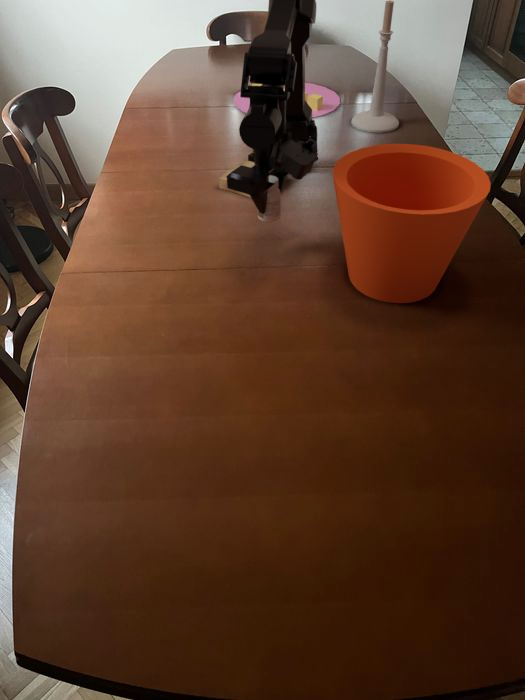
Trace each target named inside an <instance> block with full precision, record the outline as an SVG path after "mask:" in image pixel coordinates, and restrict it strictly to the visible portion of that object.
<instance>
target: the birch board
mask: <svg viewBox="0 0 525 700" xmlns="http://www.w3.org/2000/svg"><path fill="white" fill-rule="evenodd" d="M241 165H243V166H247V167H250V168H251V167H253V166H254V165H255V164H254V162H251V161H248V159H244V160H243V161H241V162H240V163H238V164H237V165H235V166H234V167H232V168H231V169H229V170H228V171H226V172H225V173H224V174H222V175H221V176H219V177H218V189H221V190H224V191H228V192H231V193H235V194H238V195H241V196H243V197H247V198H250V199H252V198H251V196H250V195H249V194H245V193H242V192H239V191H235V190H232V189H229V188H228V187H227V177H226V176H227V175H228V174H229V173H231V172H232V171H234V170H235V169H236V168H238V167H239V166H241Z"/></svg>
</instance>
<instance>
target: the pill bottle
mask: <svg viewBox="0 0 525 700" xmlns="http://www.w3.org/2000/svg"><path fill="white" fill-rule="evenodd" d="M269 182H271V183H275V184H274V185H273V186H272V187H271V188H269V189H268V194H267V204H266V211H265V213H264V214H262V213H260V212H259V211H258V209H257V208H256V209H257V219H258V220H259V221H262V222H263V223H274V222H276V221H279V220H280V218H281V214H282V213H281V211H282V210H281V209H282V206H281V205H282V204H281V203H282V202H281V201H282V193H281V192H280V190H279V189H278V185H279V184H278V178H277V177H275V176H272V175H270V176H269Z"/></svg>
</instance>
